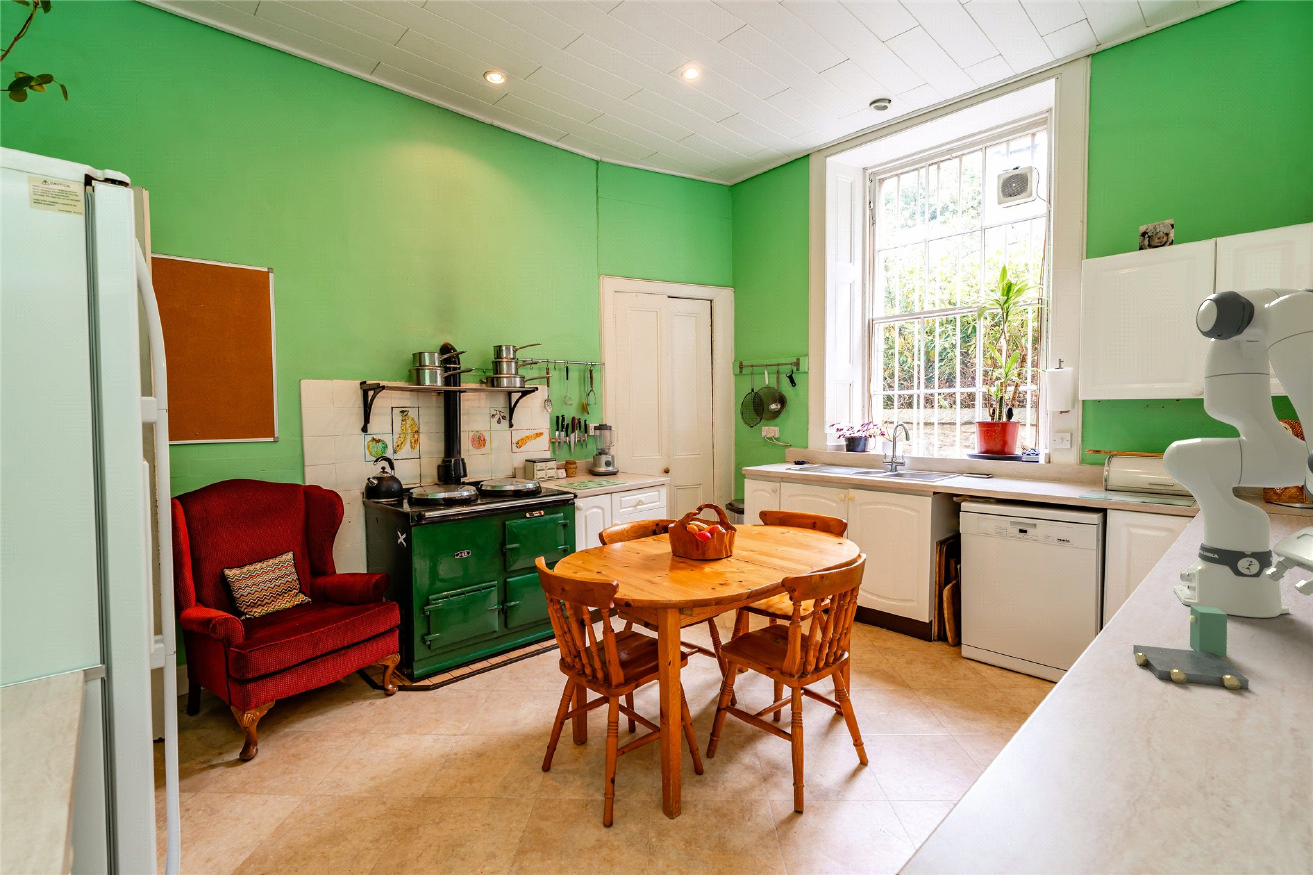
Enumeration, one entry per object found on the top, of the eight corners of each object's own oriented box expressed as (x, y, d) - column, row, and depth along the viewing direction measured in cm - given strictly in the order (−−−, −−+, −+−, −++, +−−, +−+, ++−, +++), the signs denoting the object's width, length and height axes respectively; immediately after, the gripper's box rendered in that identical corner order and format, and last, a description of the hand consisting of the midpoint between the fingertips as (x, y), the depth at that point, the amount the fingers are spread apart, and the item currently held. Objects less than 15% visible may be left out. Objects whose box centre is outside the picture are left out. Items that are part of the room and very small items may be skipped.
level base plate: (1125, 651, 116) (1125, 641, 116) (1213, 660, 112) (1213, 649, 111) (1152, 680, 104) (1152, 668, 104) (1252, 692, 99) (1252, 679, 99)
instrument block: (1186, 646, 119) (1186, 605, 118) (1216, 649, 117) (1216, 607, 117) (1195, 653, 115) (1195, 611, 115) (1226, 656, 113) (1227, 614, 113)
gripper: (1304, 511, 118) (1238, 558, 122) (1383, 531, 99) (1302, 586, 103) (1335, 536, 116) (1267, 582, 120) (1421, 560, 97) (1337, 615, 101)
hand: (1284, 584), depth 111 cm, fingers open, 8 cm apart
